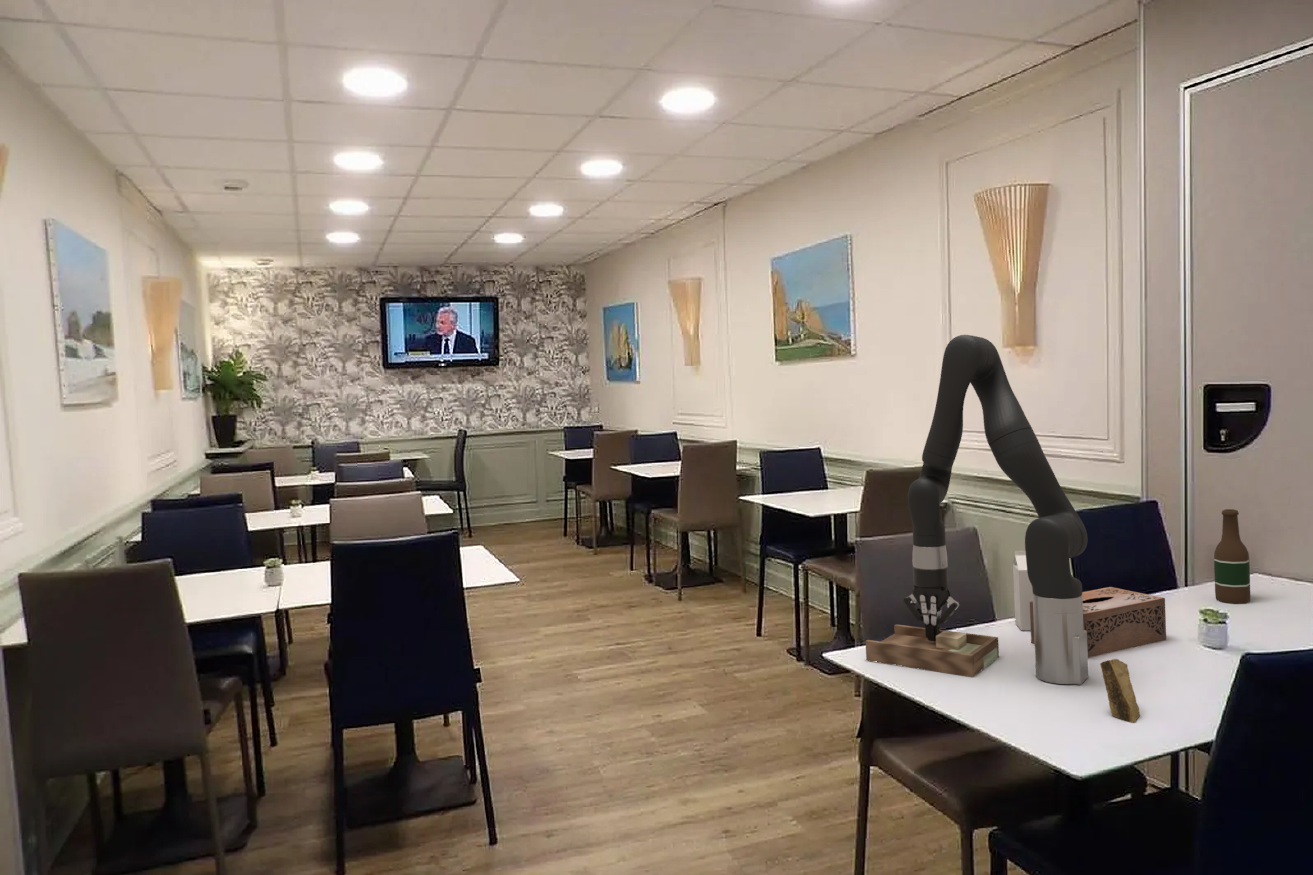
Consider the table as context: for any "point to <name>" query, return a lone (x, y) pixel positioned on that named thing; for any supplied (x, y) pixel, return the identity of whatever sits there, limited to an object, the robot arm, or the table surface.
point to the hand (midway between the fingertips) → (932, 640)
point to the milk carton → (1022, 591)
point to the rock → (1120, 690)
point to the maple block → (951, 640)
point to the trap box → (933, 652)
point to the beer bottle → (1231, 563)
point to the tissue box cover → (1119, 620)
